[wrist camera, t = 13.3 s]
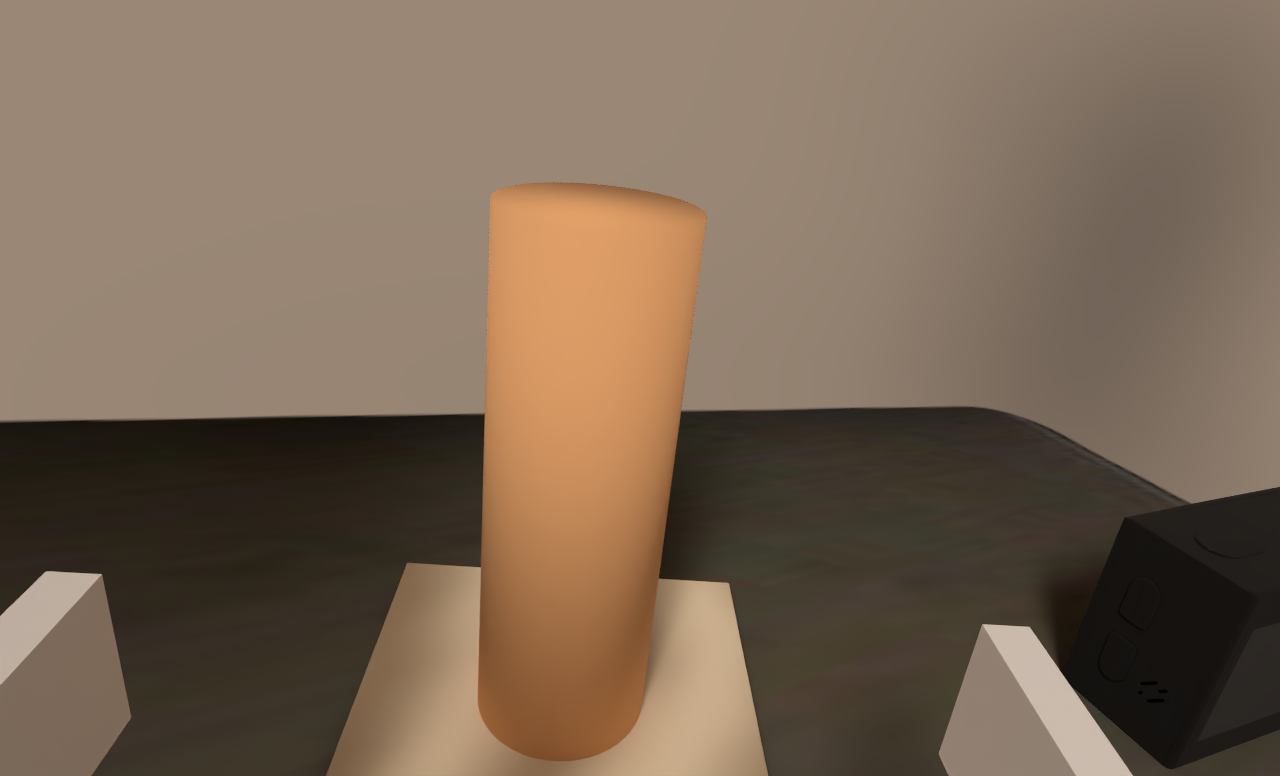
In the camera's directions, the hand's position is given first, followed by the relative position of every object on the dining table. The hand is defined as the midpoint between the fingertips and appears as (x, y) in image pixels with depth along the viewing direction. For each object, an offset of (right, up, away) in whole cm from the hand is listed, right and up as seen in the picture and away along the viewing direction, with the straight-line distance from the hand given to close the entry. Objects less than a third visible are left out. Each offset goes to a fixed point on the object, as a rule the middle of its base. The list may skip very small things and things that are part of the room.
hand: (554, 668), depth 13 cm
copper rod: (-1, -5, +12) cm, 14 cm away
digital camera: (+22, -7, +16) cm, 28 cm away
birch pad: (-1, -6, +13) cm, 14 cm away
